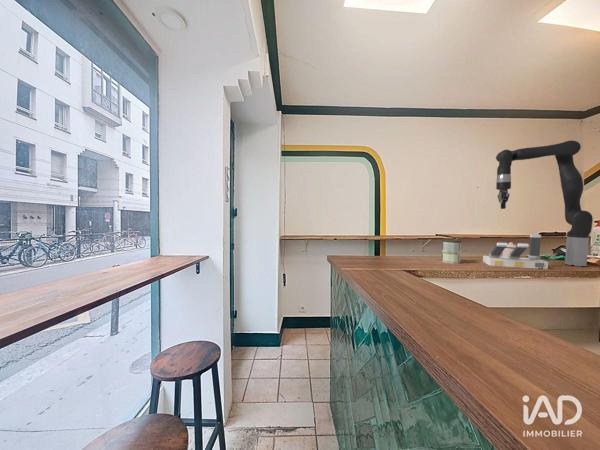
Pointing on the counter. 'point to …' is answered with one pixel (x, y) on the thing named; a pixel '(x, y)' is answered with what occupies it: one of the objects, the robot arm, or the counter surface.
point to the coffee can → (451, 251)
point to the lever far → (498, 250)
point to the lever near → (534, 247)
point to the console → (515, 262)
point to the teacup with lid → (508, 249)
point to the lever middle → (518, 250)
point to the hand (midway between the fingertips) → (503, 208)
